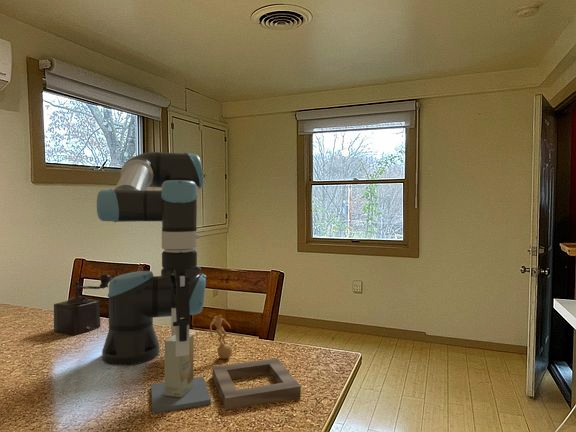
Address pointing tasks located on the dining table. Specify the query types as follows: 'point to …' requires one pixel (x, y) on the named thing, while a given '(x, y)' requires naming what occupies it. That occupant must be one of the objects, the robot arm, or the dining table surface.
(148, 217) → the robot arm
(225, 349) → the figurine
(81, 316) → the dark grey handled box
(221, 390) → the stand
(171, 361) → the skincare box
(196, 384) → the slate pad
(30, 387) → the dining table surface
